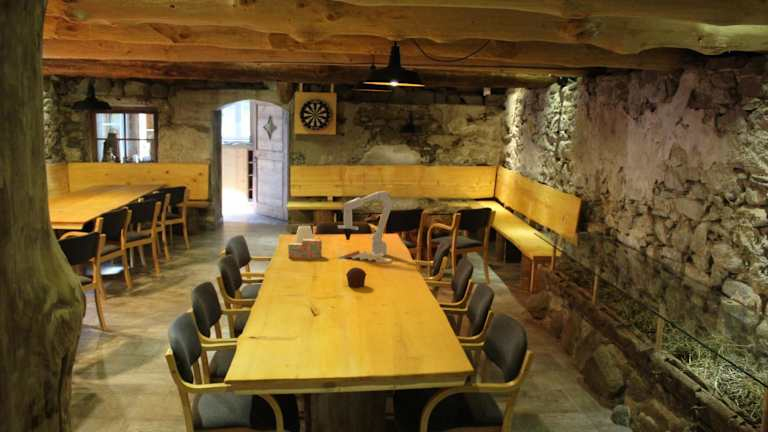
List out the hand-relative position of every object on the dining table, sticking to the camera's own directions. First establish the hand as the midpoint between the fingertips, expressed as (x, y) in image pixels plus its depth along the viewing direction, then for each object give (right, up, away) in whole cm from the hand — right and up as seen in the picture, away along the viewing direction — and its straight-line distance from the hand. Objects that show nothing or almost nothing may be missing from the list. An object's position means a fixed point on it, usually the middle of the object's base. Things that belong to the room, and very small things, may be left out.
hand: (348, 239), depth 412 cm
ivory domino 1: (+5, -11, -11) cm, 16 cm away
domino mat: (+8, -13, -12) cm, 19 cm away
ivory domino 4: (+20, -12, -18) cm, 29 cm away
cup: (-33, -6, +30) cm, 45 cm away
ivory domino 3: (+15, -12, -16) cm, 25 cm away
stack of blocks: (-28, -12, -6) cm, 31 cm away
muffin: (+9, -23, -73) cm, 77 cm away
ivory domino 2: (+10, -11, -14) cm, 20 cm away
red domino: (-1, -11, -9) cm, 14 cm away
